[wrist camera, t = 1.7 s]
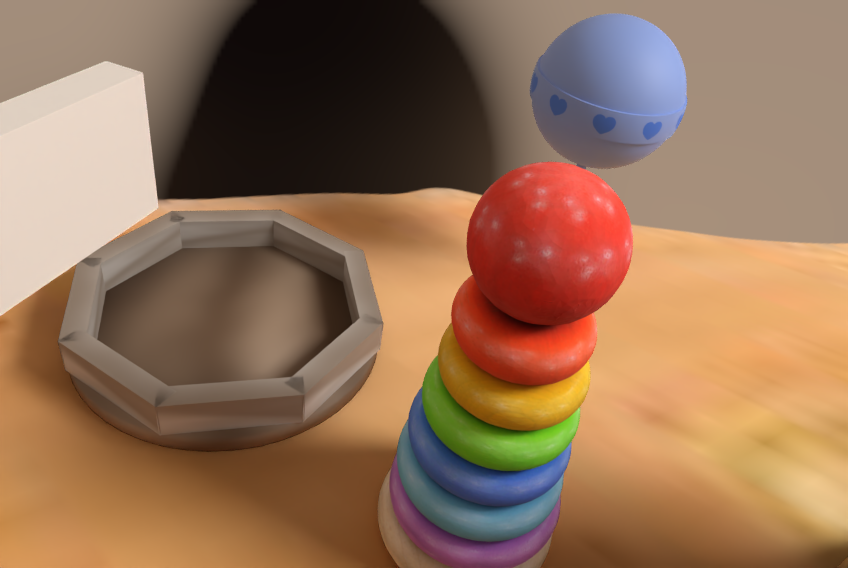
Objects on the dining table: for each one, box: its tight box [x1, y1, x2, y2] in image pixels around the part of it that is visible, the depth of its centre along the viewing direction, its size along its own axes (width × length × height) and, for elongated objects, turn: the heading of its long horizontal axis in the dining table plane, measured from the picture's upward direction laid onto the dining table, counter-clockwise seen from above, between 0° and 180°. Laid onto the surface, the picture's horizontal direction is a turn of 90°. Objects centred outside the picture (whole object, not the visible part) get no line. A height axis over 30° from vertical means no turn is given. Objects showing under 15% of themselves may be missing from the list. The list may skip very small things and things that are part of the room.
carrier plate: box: [58, 210, 383, 451], centre depth 39 cm, size 17×17×3 cm
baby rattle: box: [530, 14, 687, 169], centre depth 42 cm, size 9×9×18 cm
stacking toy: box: [378, 162, 633, 568], centre depth 26 cm, size 8×8×19 cm
